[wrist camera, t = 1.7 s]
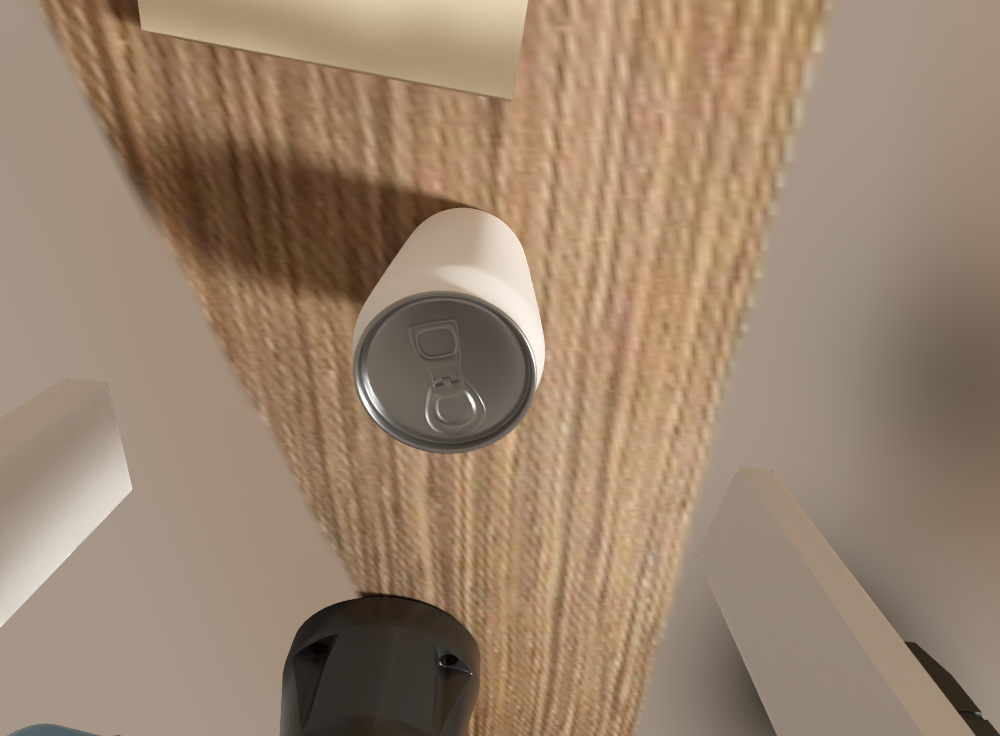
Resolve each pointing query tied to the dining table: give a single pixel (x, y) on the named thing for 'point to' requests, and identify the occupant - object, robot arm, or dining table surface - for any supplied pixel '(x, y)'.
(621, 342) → the dining table surface
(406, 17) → the riser
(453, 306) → the can
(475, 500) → the dining table surface
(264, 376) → the dining table surface
